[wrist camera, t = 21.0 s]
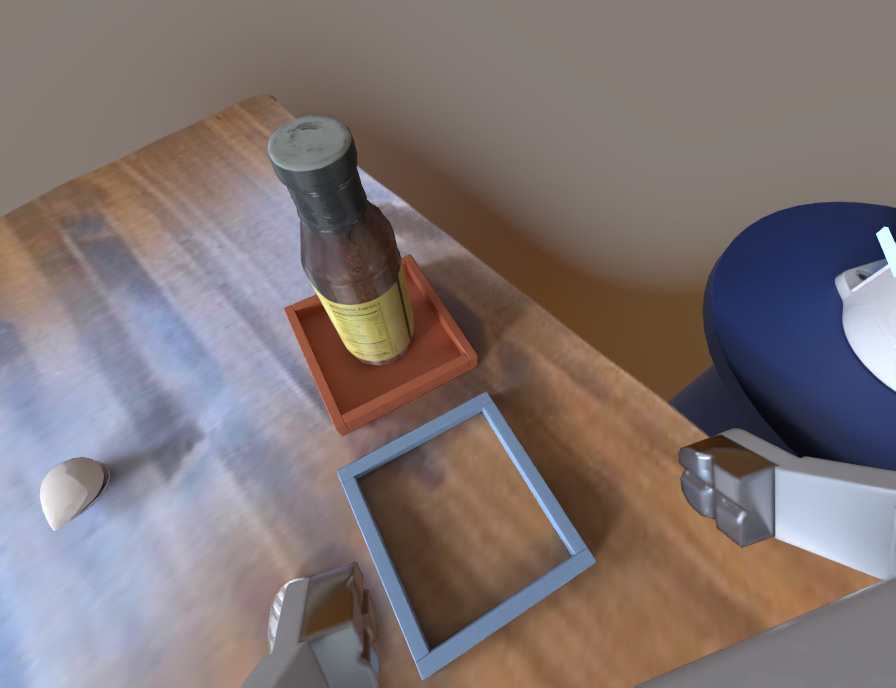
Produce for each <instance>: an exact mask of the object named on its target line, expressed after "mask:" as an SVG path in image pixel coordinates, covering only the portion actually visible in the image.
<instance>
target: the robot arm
mask: <svg viewBox="0 0 896 688" xmlns="http://www.w3.org/2000/svg"><path fill="white" fill-rule="evenodd" d="M877 237H878V239H879V241H880V244H881V246H882V249H883V251H884V253H885V256H886V259H882V260H879V261H876V262H872V263H869V264H866V265H862V266H859V267H856V268H852V269H849V270H846V271H844V272H843V273H841V274H840V275H838V276H837V277H836V278H835V285H836V287H837V290H838V292H839V294H840V296H841V298H842V301H843V314H842V321H843V328H844V331H845V335H846V337H847V340H848V342H849V344H850V346H851V347H852V349H853V351H854V352H855V354H856V355H857V356H858V358H859V359H860V360H861V361H862V363H863V364H864V365H865V366H866V367H867V368H868V369H869V370H870V371H871V372H872V373H873V374H874V375H875V376H876V377H877V378H878V379H880V380H881V381H882V382H883V383H884V384H886V385H887V386H888V387H890V388H891V389H893V390H894V391H896V245H895V242H894V240H893V238H892V236H891V233H890V231H889V229H888V227H884V228H883V229H882V230H880V231H879V232H878V233H877ZM678 458H679V464H681V465H682V466H683V467H684V468H685V470H684V472H683V474H682V476H681V478H680V481H681V488H682V492H683V494H684V496H685V498H686V500H687V501H688V503H689V504H690V505H691V506H692V508H693V509H694V510H696V511H697V512H698V513H699V514H700V515H701V516H704V517H708V518H711V519H714V520H715V522H716V526H717V529H718V530H720V531H721V532H722V533H723V534H725V535H726V536H727V537H728V538H730V539H731V540H732V541H733V542H735V543H736V544H737V545H738V546H739V547H741V548H743V547H746V546H749V545H751V544H754V543H757V542H760V541H763V540H765V539H768V538H771V537H774V536H775V538H776V539H779V540H781V541H784V542H787V543H789V544H792V545H794V546H797V547H800V548H802V549H805V550H807V551H810V552H812V553H815V554H818V555H820V556H823V557H825V558H828V559H830V560H833V561H836V562H838V563H841V564H843V565H846V566H849V567H851V568H854V569H856V570H859V571H861V572H864V573H867V574H869V575H872V576H874V577H877V578H879V579H882V580H883V581H880V582H878V583H876V584H873V585H871V586H868V587H866V588H864V589H861V590H859V591H857V592H854V593H852V594H850V595H847V596H845V597H843V598H840V599H838V600H835V601H833V602H831V603H828V604H826V605H824V606H821V607H819V608H817V609H814V610H812V611H810V612H807V613H805V614H803V615H800V616H798V617H796V618H793V619H791V620H789V621H786V622H784V623H782V624H779V625H777V626H775V627H772V628H770V629H768V630H765V631H763V632H761V633H758V634H756V635H753V636H751V637H749V638H746V639H744V640H742V641H739V642H737V643H735V644H732V645H730V646H728V647H725V648H723V649H721V650H718V651H716V652H714V653H711V654H709V655H707V656H704V657H702V658H700V659H697V660H695V661H692V662H690V663H688V664H685V665H683V666H681V667H678V668H676V669H674V670H671V671H669V672H667V673H664V674H662V675H659V676H657V677H655V678H652V679H650V680H648V681H645V682H643V683H641V684H638V685H636V686H634V687H631V688H896V471H890V470H884V469H878V468H872V467H865V466H859V465H853V464H847V463H841V462H835V461H829V460H823V459H817V458H811V457H803V458H798V457H796V456H794V455H792V454H790V453H788V452H786V451H784V450H782V449H780V448H778V447H776V446H774V445H772V444H770V443H768V442H766V441H764V440H762V439H760V438H758V437H756V436H754V435H752V434H750V433H748V432H746V431H744V430H742V429H737V428H733V429H730V430H728V431H725V432H722V433H720V434H717V435H716V436H713V437H710V438H707V439H705V440H702V441H699V442H696V443H693V444H691V445H688V446H685V447H682V448H680V451H679V453H678ZM377 638H378V635H377V622H376V616H375V610H374V606H373V602H372V599H371V596H370V593H369V590H367V589H365V588H363V575H362V572H361V570H360V567H359V565H358V563H356V562H353V563H350V564H347V565H344V566H340V567H337V568H334V569H331V570H328V571H325V572H322V573H319V574H316V575H313V576H311V577H308V578H305V579H302V580H299V581H296V582H293V583H289V585H288V586H287V587H286V589H285V592H284V597H283V601H282V606H281V611H280V615H279V620H278V624H277V629H276V634H275V638H274V643H273V648H272V652H271V654H269V655H266V656H264V657H263V658H262V660H261V661H260V662H259V664H258V665H257V666H256V667H255V669H254V670H253V671H252V673H251V674H250V675H249V677H248V678H247V679H246V681H245V682H244V683H243V685H242V686H241V687H240V688H380V684H379V658H378V655H377V652H376V650H375V647H374V643H375V641H376V640H377Z"/></svg>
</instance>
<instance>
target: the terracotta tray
mask: <svg viewBox="0 0 896 688" xmlns="http://www.w3.org/2000/svg"><path fill="white" fill-rule="evenodd" d="M401 260H402V265H403V270H404V274H405V279H406V284H407V289H408V294H409V298H410V303H411V308H412V313H413V317H414V340H413V344H412V346H411V347H410V349H409V350H408V351H407V353H406V354H404V355H403V357H402V358H400V359H399V360H397V361H396V362H395V363H392V364H386V365H371V364H365V363H363V362H361V361H360V360H359V359H358V358H356V357H355V356H354V355H353V354H352V353H351V352H350V351H349V350H348V349H347V348H346V346H345V345H344V343H343V341H342V339H341V337H340V335H339V334H338V332H337V330H336V328H335V327H334V325H333V323H332V321H331V319H330V317H329V315H328V314H327V312H326V310H325V308H324V306H323V304H322V303H321V301H320V299H319V297H318V296H317V294H316V295H314V296H312V297H309V298H307V299H305V300H302V301H300V302H298V303H295V304H293V306H292V305H290V306H288V307H286V308H284V311H285V313H286V315H287V318H288V320H289V322H290V325H291V327H292V329H293V332H294V334H295V336H296V339H297V341H298V343H299V346H300V348H301V350H302V352H303V355H304V357H305V359H306V362H307V364H308V366H309V369H310V371H311V373H312V376H313V378H314V380H315V383H316V385H317V387H318V390H319V392H320V394H321V397H322V399H323V401H324V404H325V406H326V408H327V410H328V413H329V415H330V417H331V420H332V422H333V424H334V427H335V429H336V430H337V431H338V432H339V434H340V435H341V436H343V435H345V434H347V433H349V432H351V431H353V430H355V429H356V428H358V427H360V426H362V425H364V424H366V423H368V422H370V421H372V420H374V419H376V418H378V417H380V416H382V415H384V414H386V413H388V412H390V411H392V410H393V409H395V408H397V407H399V406H401V405H403V404H405V403H407V402H409V401H411V400H413V399H415V398H417V397H419V396H421V395H423V394H425V393H427V392H429V391H430V390H432V389H434V388H436V387H438V386H440V385H442V384H444V383H446V382H448V381H450V380H452V379H454V378H456V377H458V376H460V375H462V374H464V373H466V372H467V371H469V370H471V369H473V368H475V367H477V362H478V355H477V354H476V352H475V351H474V349H473V348H472V346H471V345H470V343H469V342H468V340H467V339H466V337H465V336H464V334H463V333H462V331H461V329H460V328H459V326H458V325H457V323H456V322H455V320H454V319H453V317H452V316H451V314H450V313H449V311H448V310H447V308H446V307H445V305H444V304H443V302H442V301H441V299H440V298H439V296H438V295H437V293H436V292H435V290H434V289H433V287H432V286H431V284H430V283H429V281H428V280H427V278H426V277H425V275H424V274H423V272H422V271H421V269H420V268H419V266H418V265H417V263H416V262H415V260H414V259H413V257H412V256H411V255H407V256H405V257H403V258H401Z"/></svg>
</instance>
